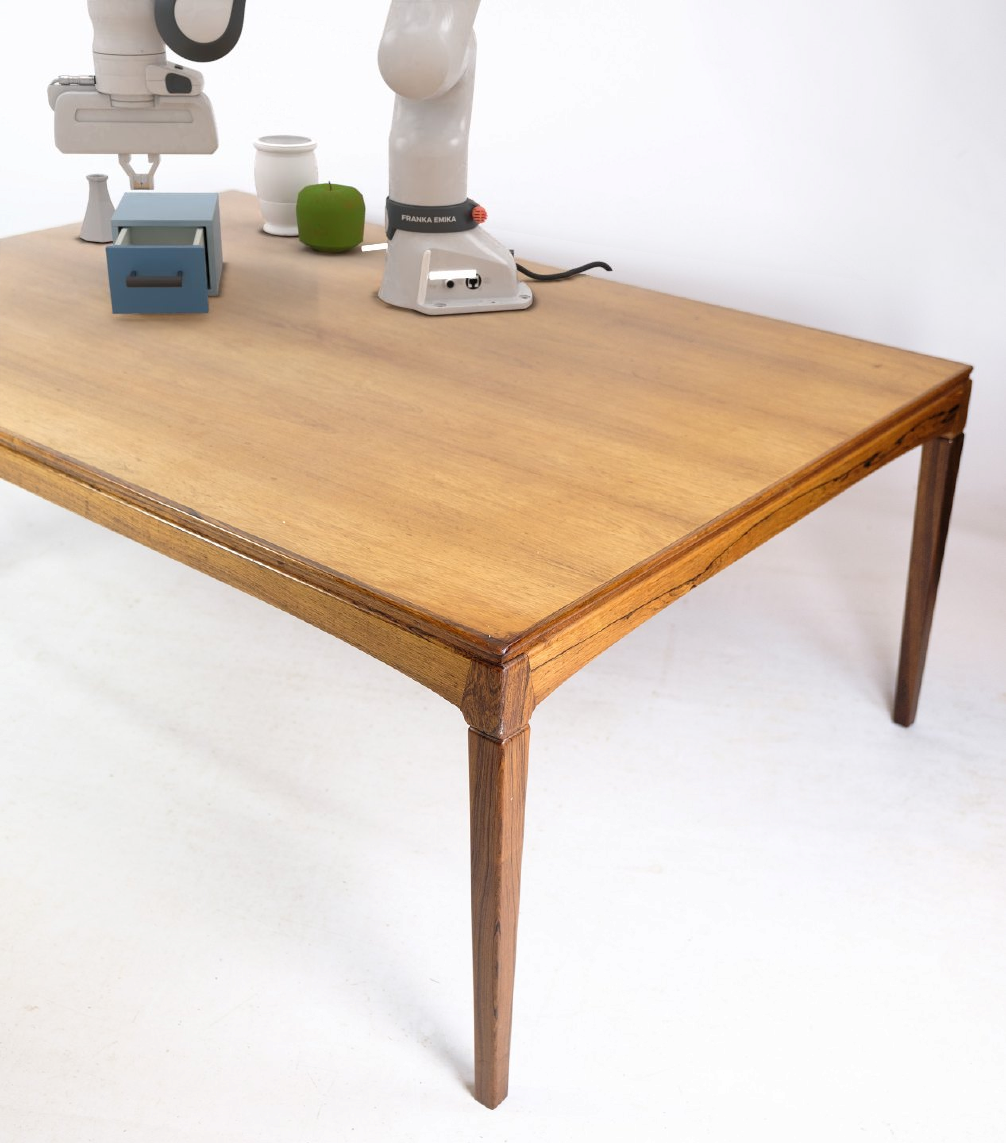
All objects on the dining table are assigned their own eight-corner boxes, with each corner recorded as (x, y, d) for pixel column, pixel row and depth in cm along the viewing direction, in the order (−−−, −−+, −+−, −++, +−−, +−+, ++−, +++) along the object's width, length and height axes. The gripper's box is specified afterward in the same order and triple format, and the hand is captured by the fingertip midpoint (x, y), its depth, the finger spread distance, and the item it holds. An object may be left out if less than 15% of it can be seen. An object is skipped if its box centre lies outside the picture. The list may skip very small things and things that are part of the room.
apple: (296, 256, 206) (293, 187, 201) (298, 240, 216) (296, 173, 210) (366, 257, 207) (365, 188, 202) (365, 241, 217) (364, 174, 212)
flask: (136, 237, 213) (129, 175, 209) (102, 245, 208) (95, 182, 203) (105, 230, 217) (98, 169, 212) (71, 238, 211) (63, 176, 206)
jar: (325, 226, 225) (323, 136, 218) (312, 240, 216) (309, 147, 209) (265, 222, 226) (261, 132, 219) (249, 236, 217) (244, 143, 210)
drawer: (206, 324, 171) (201, 257, 166) (108, 325, 169) (100, 257, 165) (214, 279, 189) (210, 218, 185) (126, 280, 188) (119, 218, 183)
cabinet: (217, 296, 186) (212, 220, 180) (118, 296, 184) (110, 219, 178) (222, 263, 201) (218, 192, 196) (131, 263, 199) (124, 192, 194)
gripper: (41, 78, 157) (55, 194, 164) (212, 80, 160) (220, 194, 167) (49, 71, 163) (63, 184, 169) (215, 74, 166) (222, 184, 172)
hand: (142, 189), depth 168 cm, fingers closed
